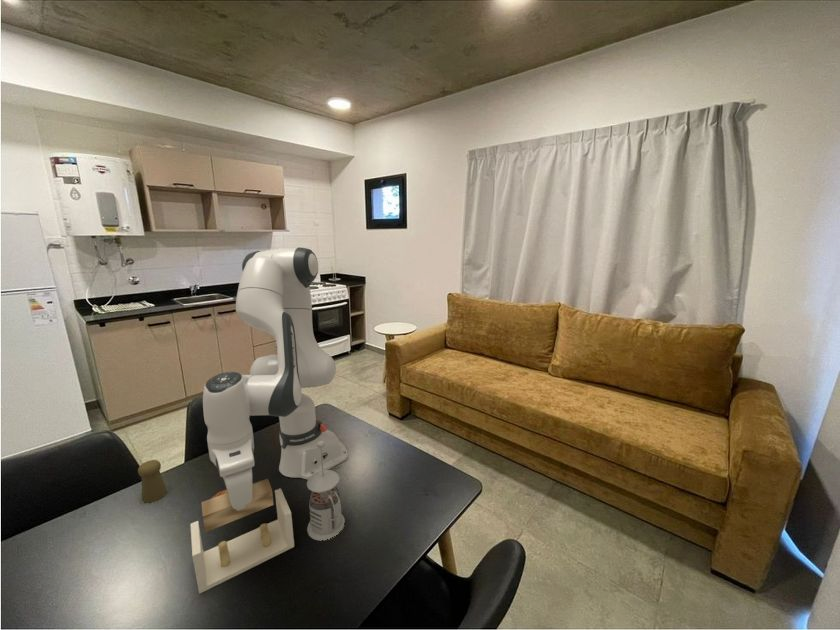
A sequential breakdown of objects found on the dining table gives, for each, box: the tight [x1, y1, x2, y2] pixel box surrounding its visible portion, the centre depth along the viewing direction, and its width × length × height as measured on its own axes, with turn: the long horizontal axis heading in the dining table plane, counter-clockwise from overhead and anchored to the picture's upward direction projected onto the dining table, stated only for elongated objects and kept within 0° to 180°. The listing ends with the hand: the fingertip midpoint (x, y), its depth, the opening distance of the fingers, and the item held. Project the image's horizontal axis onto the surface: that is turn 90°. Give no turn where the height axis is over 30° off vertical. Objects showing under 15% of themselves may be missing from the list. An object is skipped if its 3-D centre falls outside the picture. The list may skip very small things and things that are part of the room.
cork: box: [137, 459, 168, 504], centre depth 99 cm, size 6×6×11 cm
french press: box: [306, 441, 346, 542], centre depth 87 cm, size 10×12×25 cm
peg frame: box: [190, 487, 295, 595], centre depth 82 cm, size 20×10×10 cm, turn 125°
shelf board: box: [201, 478, 275, 533], centre depth 79 cm, size 14×5×4 cm, turn 125°
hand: (238, 499), depth 79 cm, fingers closed on shelf board, 5 cm apart
